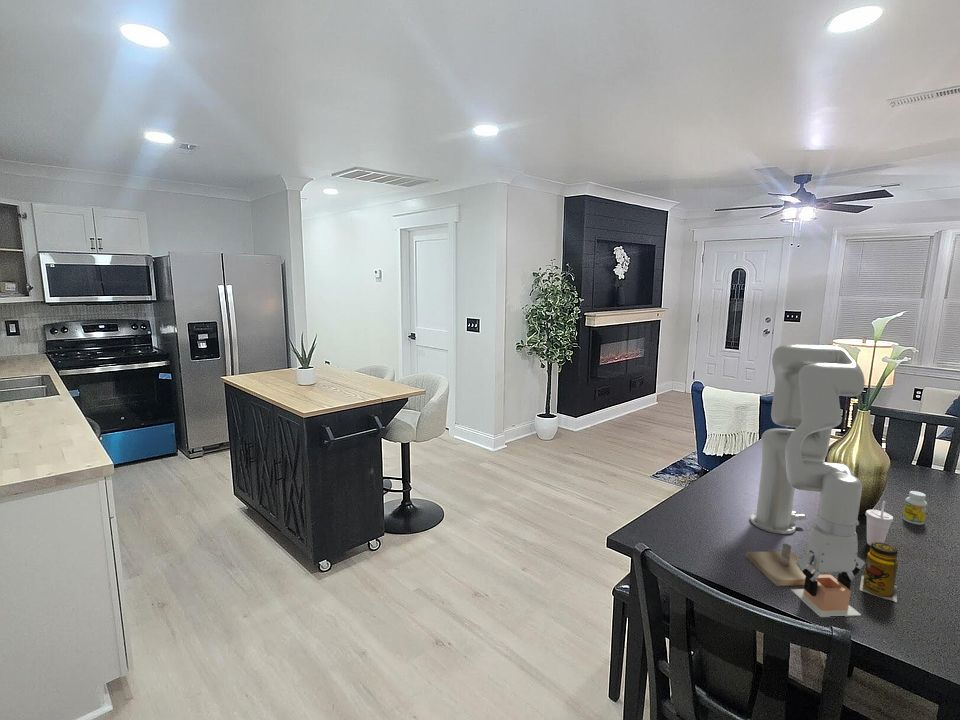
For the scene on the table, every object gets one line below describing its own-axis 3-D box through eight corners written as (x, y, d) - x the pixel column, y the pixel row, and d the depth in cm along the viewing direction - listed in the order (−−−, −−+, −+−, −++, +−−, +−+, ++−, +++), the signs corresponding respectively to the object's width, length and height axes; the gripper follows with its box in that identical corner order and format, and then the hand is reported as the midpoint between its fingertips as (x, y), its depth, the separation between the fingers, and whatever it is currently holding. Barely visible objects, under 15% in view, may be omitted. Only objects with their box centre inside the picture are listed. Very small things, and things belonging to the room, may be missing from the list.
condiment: (859, 590, 126) (866, 547, 124) (861, 575, 132) (868, 534, 130) (896, 603, 121) (904, 558, 119) (897, 587, 128) (904, 544, 125)
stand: (790, 555, 141) (793, 532, 140) (824, 584, 128) (828, 558, 127) (746, 557, 140) (749, 533, 139) (776, 585, 127) (779, 560, 126)
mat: (828, 589, 126) (828, 588, 126) (861, 615, 116) (861, 614, 116) (791, 590, 126) (791, 589, 126) (820, 617, 116) (820, 616, 116)
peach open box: (827, 592, 124) (830, 574, 124) (847, 609, 118) (850, 590, 117) (803, 593, 124) (805, 575, 123) (822, 610, 118) (825, 591, 117)
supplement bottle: (927, 523, 160) (933, 495, 159) (917, 526, 159) (922, 498, 157) (909, 515, 165) (913, 488, 164) (898, 518, 164) (903, 491, 162)
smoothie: (881, 552, 143) (889, 507, 141) (856, 541, 149) (863, 498, 146) (892, 547, 146) (900, 502, 144) (868, 536, 152) (874, 494, 149)
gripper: (857, 516, 122) (847, 581, 125) (790, 518, 121) (781, 583, 124) (884, 532, 114) (873, 601, 117) (812, 534, 113) (803, 603, 116)
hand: (826, 591), depth 121 cm, fingers open, 7 cm apart
